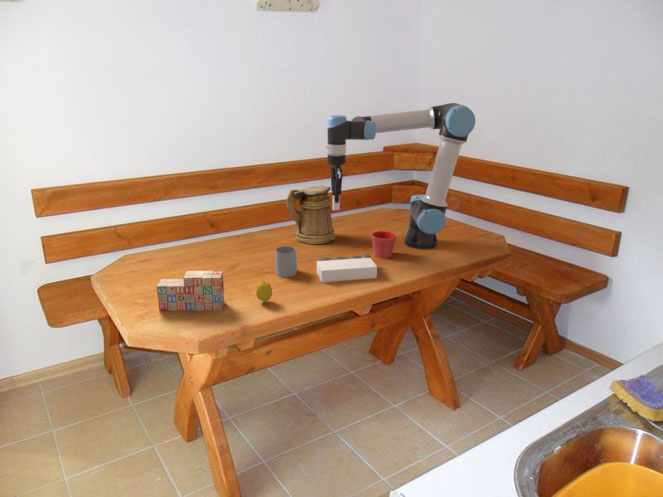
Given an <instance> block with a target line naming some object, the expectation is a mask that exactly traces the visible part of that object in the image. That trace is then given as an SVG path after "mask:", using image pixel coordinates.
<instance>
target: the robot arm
mask: <svg viewBox="0 0 663 497" xmlns="http://www.w3.org/2000/svg"><path fill="white" fill-rule="evenodd" d="M475 126H476V116H475V114H474V112H473V110H472V109H470V107H468V106H466V105H464V104H460V103H457V102H456V103H455V102H450V103H445V104H441V105H434V106H430V107H429V108H428V109H421V110H411V111H403V112H394V113H386V114H376V115H368V116H359V115H358V116H355V117H353V118H351V120H347V117H346V116H345V115H339V114H336V115H335V114H334V115H330V116H328V118H327V146H326V149H327V157H326V160H327V165H331V167H330V169H329V171H330V185H331V186H330V188H331V189H330V191H331V195H332V211H339V210H340V206H341V205H340V203H341V202H340V201H341V200H340V199H341V198H340V196H341V195H342V187H343V185H342V184H343V177H344V174H343V168H342V165H343V166H344V165H345V164H346V161H347V159H346V158H347V157H346V154H347V153H346V152H347V140H348V141H349V140H353V141H355V140H357V141H358V140H361V141H362V140H363V141H365V140H366V141H370V140H375V138H376V136H377V135H376V134H380V133H390V132H391V133H392V132H399V131H408V130H409V131H410V130H418V129H426V128H427V129H428V128H429V129H431V131H432V130H439V131H438V137H439V139H440V142H439V145H438V150H437V153H436V157H435V160H434V164H433V167H432V171H431V173H430V174H431V175H430V178H429V182H428V185H427V189H426V192H425V194H414V195H411V197H410V201H409V203H410V204H409V221H408V225H409V226H408V228H407V231H406V234H405V236H404V239H403V240H404V241H403V242H404V244H405V246H407V247H409V248H412V249H413V248H414V249H419V250H420V249H421V250H426V249H433V248H436V247H437V245H438V237H437V234H438V233H439V232H440V231H442V230H443V229H444V227H445V226H446V221H447V218H446V212H447V209H448V203H447V201H446V199H447V195H448V193H449V192H448V191H449V189H450V184H451V182H452V180H453V179H452V178H453V174H454V171H455V168H456V165H457V161H458V158H459V154H460V151H461V148H462V145H464V144H465V143H467V141H468V137H469V135H470V134H471V133H472V131H473V130H474V128H475Z"/></svg>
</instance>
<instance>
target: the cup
mask: <svg viewBox="0 0 663 497" xmlns="http://www.w3.org/2000/svg"><path fill="white" fill-rule="evenodd" d="M297 253H298V252H297V248H296V247H294V246H290V245H283V246H279V247H276V248H275V249H274V258H275V259H274V261H275V262H274V263H275V274H276V276H278V277H279V278H280V277H281V278H292V276H295V275H296V274H297V273H298V264H297V263H298V262H297V261H298V259H297V258H298V257H297V255H298V254H297Z"/></svg>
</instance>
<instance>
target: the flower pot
mask: <svg viewBox="0 0 663 497" xmlns="http://www.w3.org/2000/svg"><path fill="white" fill-rule="evenodd" d="M396 240H397V235H396V233H394V232H392V231H387V230H377V231H373V232H372V233H371V243H372V244H371V245H372V251H373V256H374V257H375V258H378V259H389V258H391V257H392V255H393V253H394V252H393V251H394V248H395V244H396Z"/></svg>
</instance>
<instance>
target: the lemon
mask: <svg viewBox="0 0 663 497" xmlns="http://www.w3.org/2000/svg"><path fill="white" fill-rule="evenodd" d="M255 291H256V293H255V294H256V296H257V299H258V300H259V301H261V302H263V303H266V302H268V301H270V299H272V296H273V288H272V286H271V284H270V283H269V282H267V281H261V282H260V283H258V285H257V286H256V290H255Z"/></svg>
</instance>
